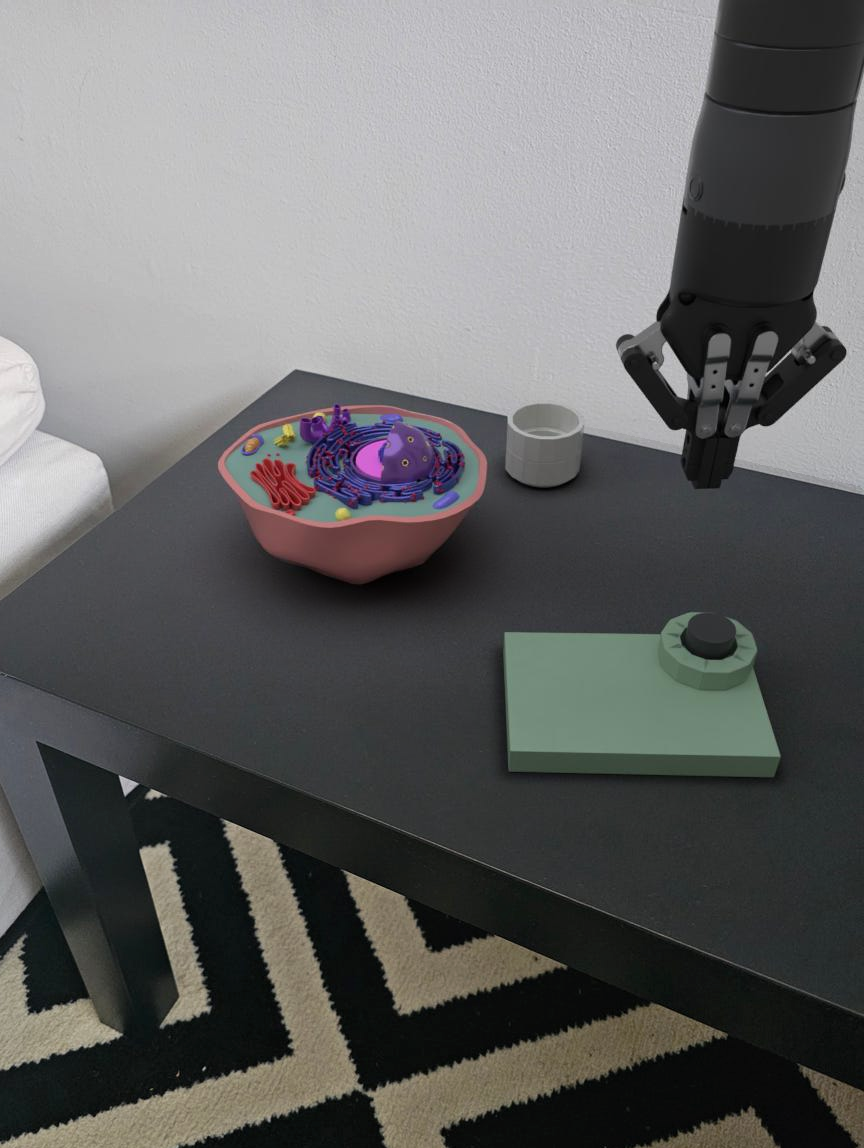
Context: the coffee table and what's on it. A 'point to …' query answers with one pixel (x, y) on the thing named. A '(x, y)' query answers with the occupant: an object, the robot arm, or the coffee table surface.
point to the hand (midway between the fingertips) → (702, 481)
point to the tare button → (710, 636)
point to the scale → (635, 705)
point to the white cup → (544, 443)
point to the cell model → (355, 487)
